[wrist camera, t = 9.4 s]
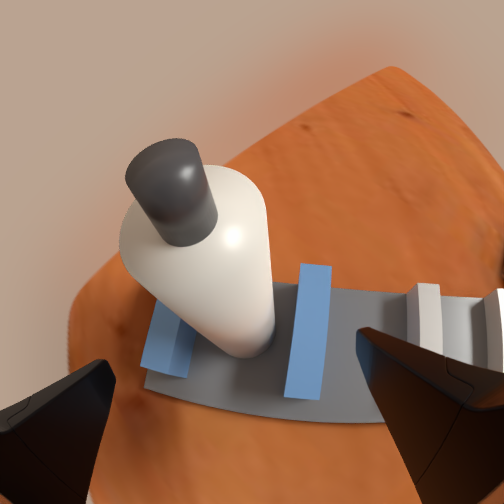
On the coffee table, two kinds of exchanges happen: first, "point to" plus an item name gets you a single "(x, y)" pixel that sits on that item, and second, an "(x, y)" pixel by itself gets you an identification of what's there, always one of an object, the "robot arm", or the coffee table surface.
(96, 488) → the coffee table surface
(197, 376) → the slotted divider tray
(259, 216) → the bottle
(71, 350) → the coffee table surface
